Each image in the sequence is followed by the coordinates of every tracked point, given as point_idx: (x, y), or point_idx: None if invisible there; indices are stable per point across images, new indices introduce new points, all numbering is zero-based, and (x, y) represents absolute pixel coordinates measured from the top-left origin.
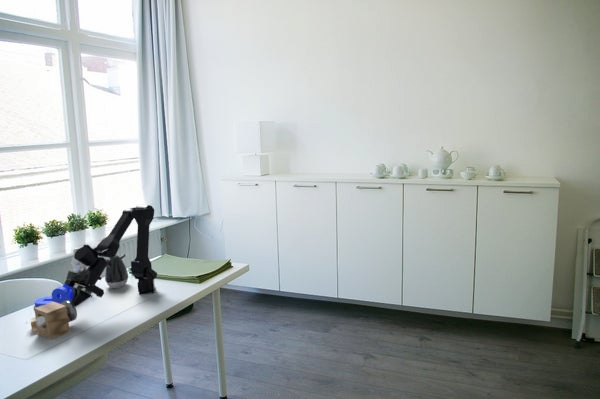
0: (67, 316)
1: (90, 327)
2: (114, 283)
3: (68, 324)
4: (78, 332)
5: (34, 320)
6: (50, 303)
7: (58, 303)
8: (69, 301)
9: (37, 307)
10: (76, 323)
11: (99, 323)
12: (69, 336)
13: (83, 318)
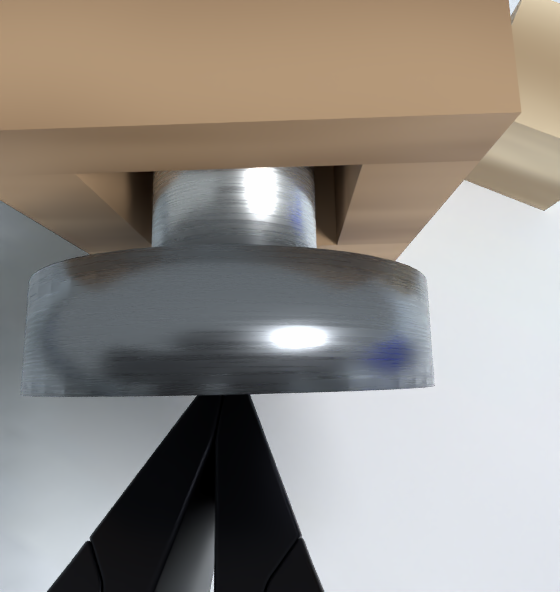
0: (37, 220)
1: (10, 453)
2: None
3: (95, 253)
4: (23, 314)
5: (544, 38)
6: (447, 17)
7: (244, 113)
8: (127, 351)
9: None
10: (263, 428)
11: (6, 575)
12: (26, 219)
13: (327, 557)
